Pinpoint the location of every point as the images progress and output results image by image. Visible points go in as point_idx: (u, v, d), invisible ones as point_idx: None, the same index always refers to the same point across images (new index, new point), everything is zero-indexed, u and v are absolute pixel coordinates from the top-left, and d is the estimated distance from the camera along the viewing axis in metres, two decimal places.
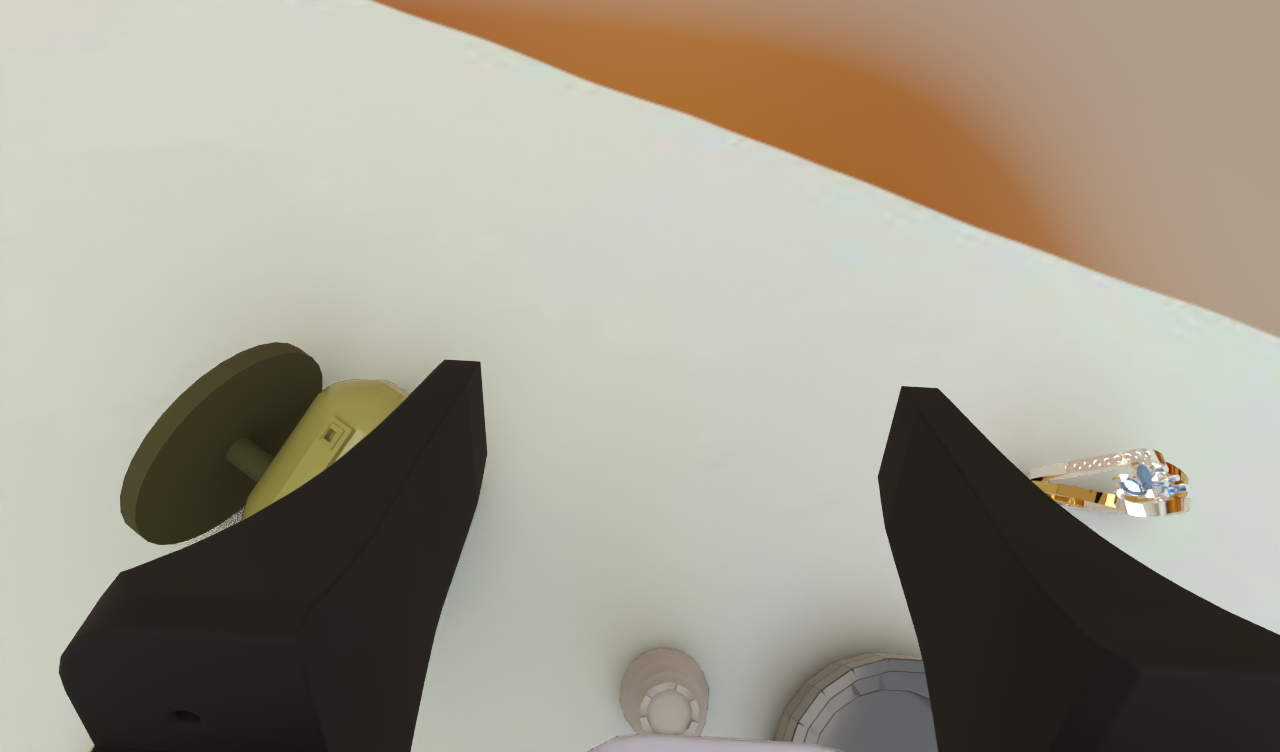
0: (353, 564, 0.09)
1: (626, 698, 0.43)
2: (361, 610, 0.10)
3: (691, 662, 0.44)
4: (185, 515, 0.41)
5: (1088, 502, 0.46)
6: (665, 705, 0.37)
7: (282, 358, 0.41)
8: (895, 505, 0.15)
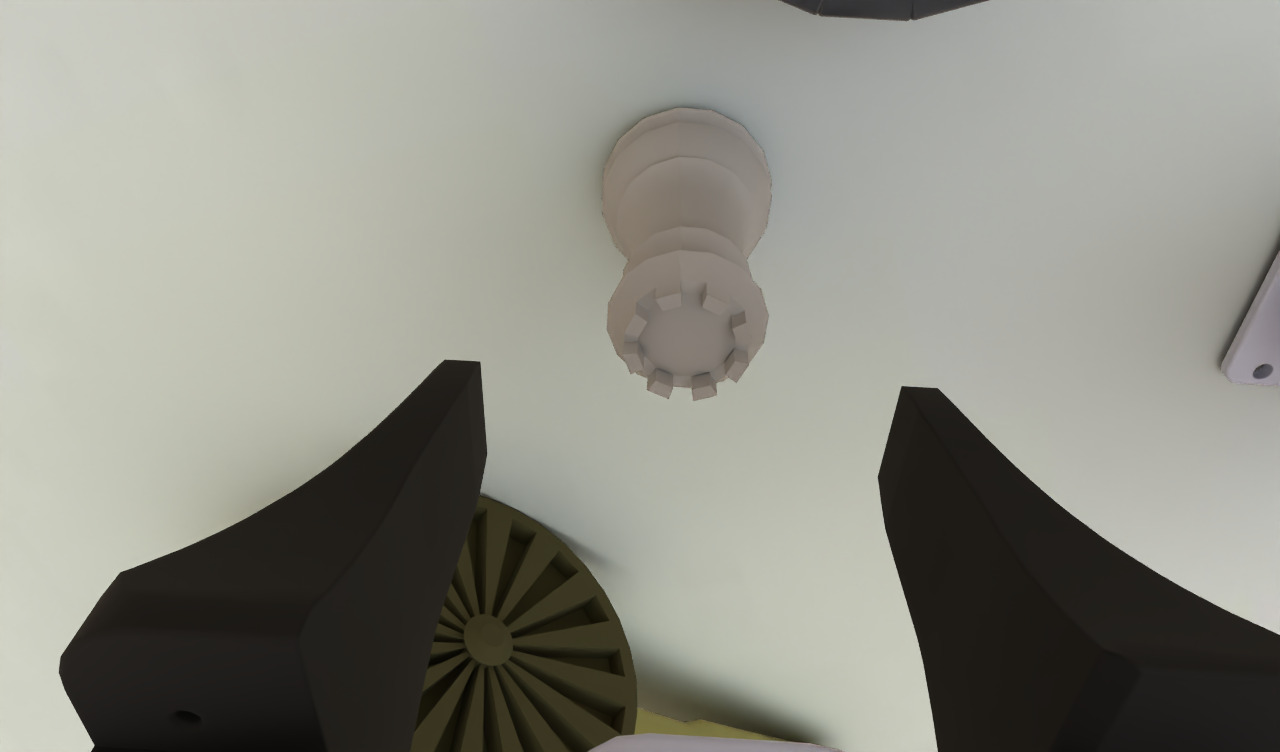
0: (353, 564, 0.09)
1: None
2: (361, 611, 0.10)
3: (621, 159, 0.22)
4: None
5: None
6: (671, 347, 0.18)
7: None
8: (895, 505, 0.15)
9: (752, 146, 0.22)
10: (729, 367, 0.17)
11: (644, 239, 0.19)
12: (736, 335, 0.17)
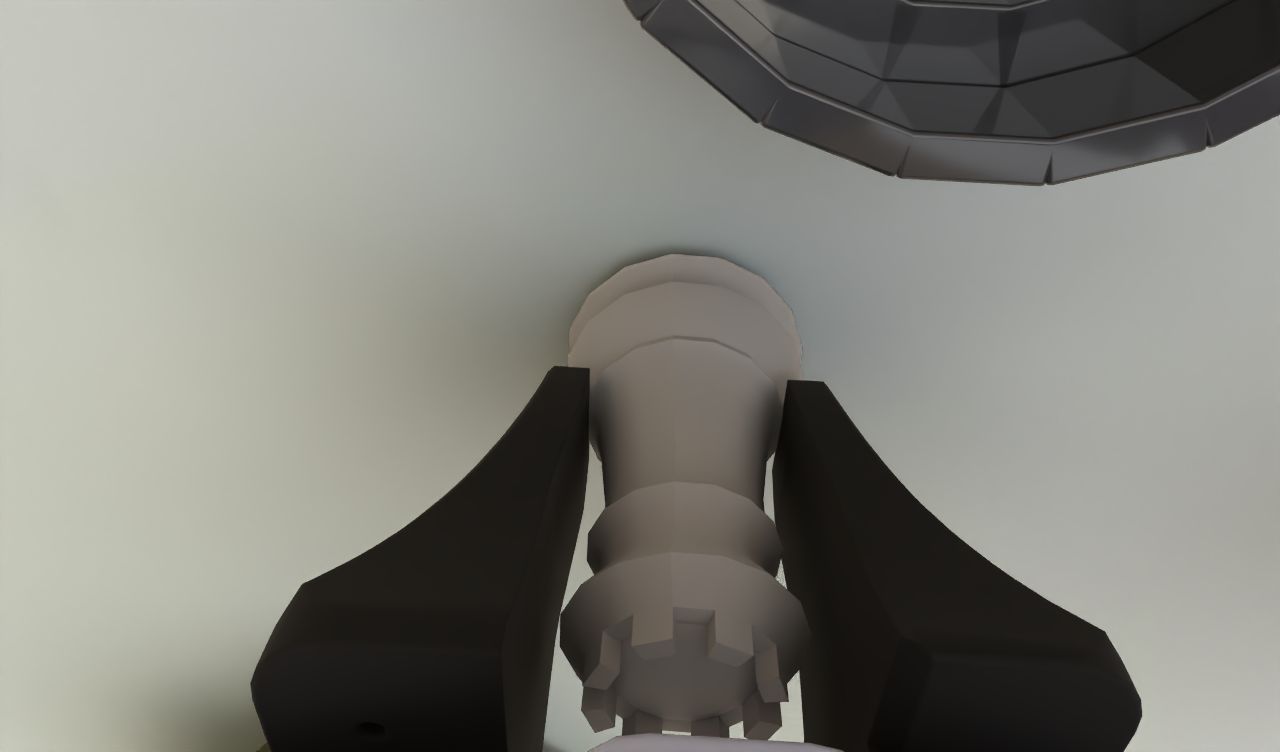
0: (525, 574, 0.09)
1: None
2: (526, 621, 0.10)
3: (591, 330, 0.15)
4: None
5: None
6: (658, 691, 0.11)
7: None
8: (781, 498, 0.15)
9: (776, 305, 0.16)
10: (751, 727, 0.11)
11: (620, 482, 0.13)
12: (763, 692, 0.10)
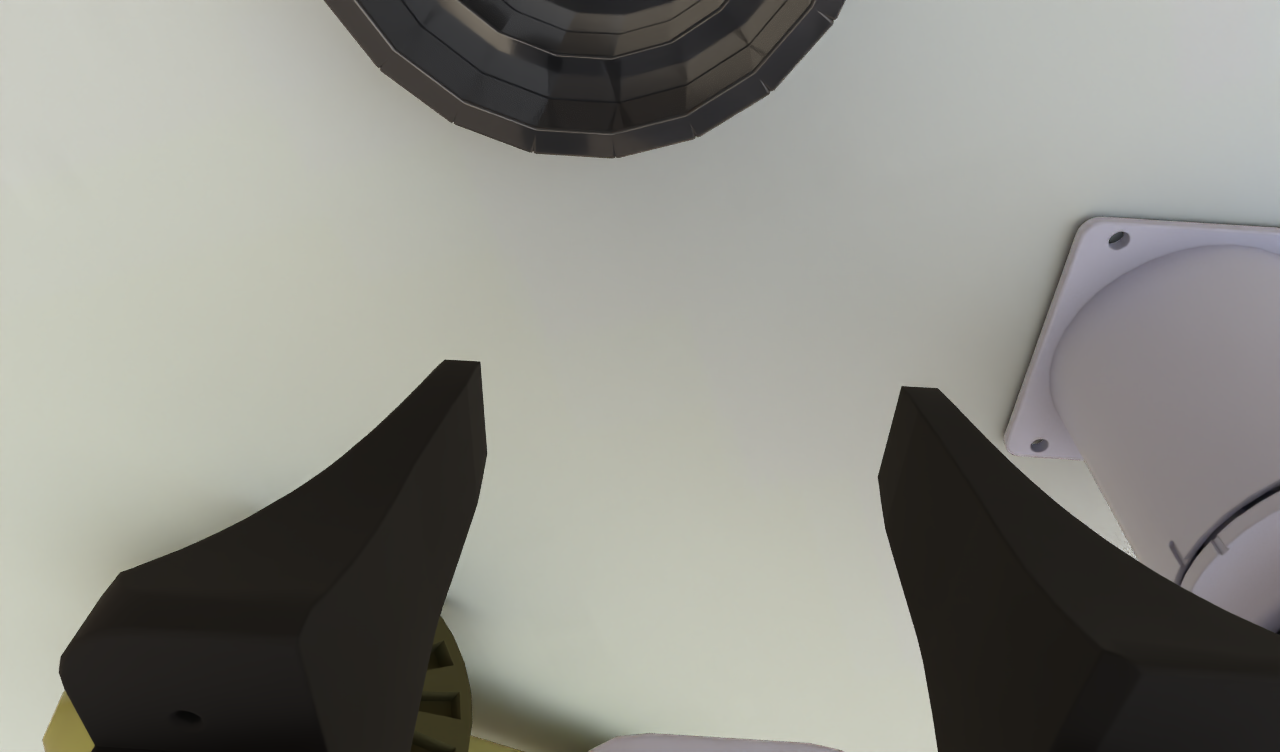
0: (353, 564, 0.09)
1: None
2: (360, 610, 0.10)
3: None
4: None
5: None
6: None
7: None
8: (895, 505, 0.15)
9: None
10: None
11: None
12: None
